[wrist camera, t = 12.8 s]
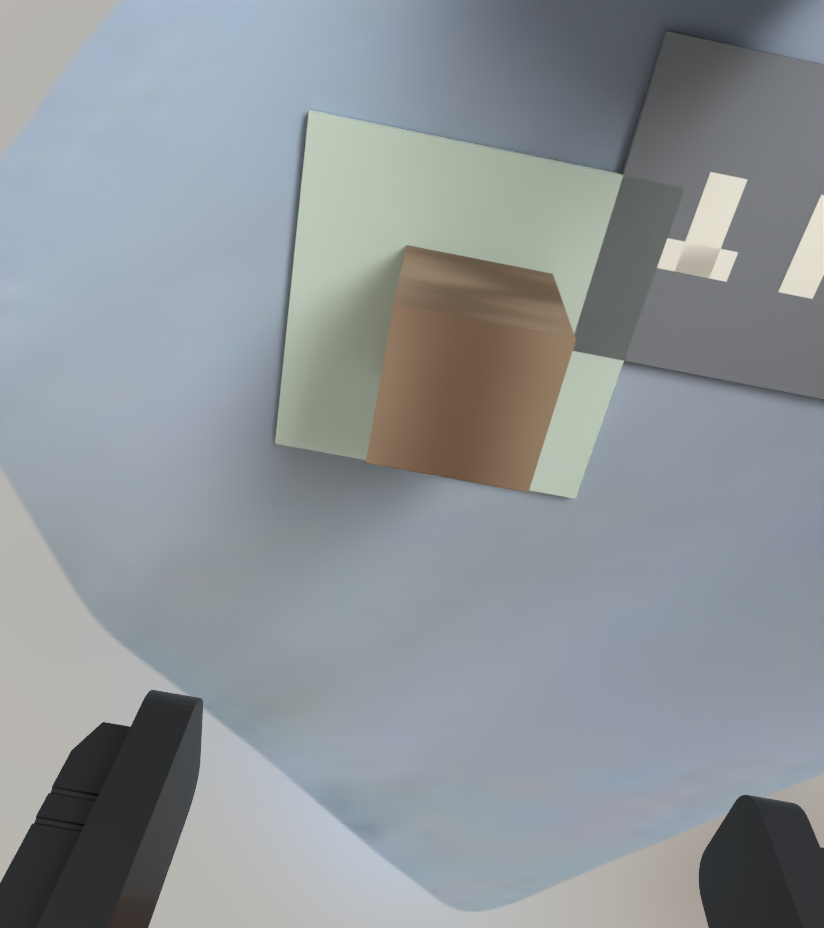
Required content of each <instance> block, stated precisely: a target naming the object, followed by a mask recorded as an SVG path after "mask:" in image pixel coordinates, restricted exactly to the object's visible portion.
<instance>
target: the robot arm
mask: <svg viewBox="0 0 824 928" xmlns="http://www.w3.org/2000/svg"><path fill="white" fill-rule="evenodd" d="M202 714H203V701H202V699H201V698H196V697H191V696H185V695H179V694H173V693H168V692H162V691H155V690H151V691H149V693H148V694H147V695H146V697H145V699H144V700H143V702H142V705H141V707H140V709H139V711H138V713H137V715H136V717H135V719H134V721H133V724H132V726H131V727H128V726H123V725H117V724H111V723H105V722H103V723H101V724H100V725H99V726H98V727H97V728H96V729H95V730H94V731H93V732H92V733H91V734H89V735H88V736H87V737H86V738H85V739H84V740H83V741H82V742H81V743H79V744H78V745H77V746H76V747H75V748H74V749H73V750H72V751H71V753H70V755H69V756H68V758H67V760H66V762H65V764H64V766H63V767H62V769H61V771H60V773H59V775H58V777H57V779H56V780H55V782H54V784H53V786H52V791H51V793H50V794H48V796H47V797H46V799H45V801H44V803H43V805H42V806H41V808H40V810H39V812H38V814H37V816H36V820H35V823H34V824H32V825H31V827H30V829H29V831H28V832H27V834H26V836H25V838H24V840H23V842H22V844H21V846H20V847H19V849H18V851H17V853H16V855H15V857H14V859H13V860H12V862H11V864H10V866H9V868H8V870H7V872H6V874H5V876H4V877H3V879H2V881H1V883H0V928H148V926H149V923H150V920H151V918H152V915H153V912H154V909H155V906H156V904H157V901H158V898H159V895H160V892H161V889H162V886H163V883H164V881H165V878H166V875H167V872H168V869H169V866H170V864H171V861H172V858H173V855H174V852H175V849H176V847H177V844H178V840H179V838H180V835H181V832H182V829H183V826H184V824H185V821H186V818H187V815H188V812H189V809H190V806H191V803H192V800H193V796H194V792H195V789H196V784H197V780H198V773H199V768H200V753H201V734H202ZM699 888H700V895H701V899H702V903H703V907H704V911H705V915H706V918H707V922H708V926H709V928H824V848H820V846H819V844H818V841H817V839H816V837H815V834H814V832H813V829H812V827H811V825H810V822H809V820H808V818H807V816H806V814H805V812H804V811H803V810H802V809H801V807H800V806H798V805H797V804H794V803H789V802H783V801H778V800H773V799H767V798H761V797H755V796H749V795H743V796H740V797H739V798H738V799H737V800H736V802H735V803H734V805H733V806H732V808H731V810H730V811H729V813H728V814H727V816H726V818H725V819H724V821H723V822H722V824H721V825H720V827H719V829H718V830H717V832H716V833H715V835H714V836H713V838H712V840H711V841H710V843H709V844H708V846H707V847H706V849H705V851H704V853H703V855H702V858H701V862H700V868H699Z"/></svg>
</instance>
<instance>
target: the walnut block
mask: <svg viewBox="0 0 824 928" xmlns="http://www.w3.org/2000/svg"><path fill="white" fill-rule="evenodd" d="M575 342H576V338H575V335H574V333H573V330H572V327H571V324H570V321H569V318H568V316H567V313H566V310H565V307H564V304H563V301H562V298H561V296H560V293H559V290H558V287H557V284H556V281H555V279H554V276H553V274H551V273H546V272H541V271H536V270H531V269H526V268H521V267H516V266H511V265H506V264H501V263H496V262H491V261H486V260H480V259H475V258H470V257H465V256H460V255H455V254H450V253H445V252H440V251H435V250H430V249H425V248H420V247H415V246H410V245H407V246H406V251H405V255H404V260H403V264H402V269H401V273H400V277H399V282H398V286H397V291H396V295H395V300H394V304H393V310H392V315H391V321H390V327H389V332H388V338H387V344H386V349H385V355H384V361H383V367H382V372H381V378H380V384H379V389H378V395H377V401H376V406H375V412H374V418H373V424H372V429H371V435H370V441H369V446H368V452H367V458H366V463H371V464H376V465H382V466H387V467H392V468H398V469H403V470H409V471H414V472H420V473H425V474H430V475H436V476H441V477H447V478H452V479H458V480H463V481H469V482H474V483H479V484H485V485H490V486H496V487H501V488H507V489H512V490H518V491H523V492H529V489H530V486H531V483H532V479H533V476H534V473H535V470H536V467H537V463H538V460H539V457H540V454H541V451H542V447H543V444H544V441H545V438H546V435H547V431H548V428H549V425H550V422H551V419H552V415H553V412H554V409H555V406H556V402H557V399H558V396H559V393H560V390H561V386H562V383H563V380H564V377H565V374H566V370H567V367H568V364H569V361H570V358H571V354H572V351H573V348H574V345H575Z"/></svg>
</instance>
